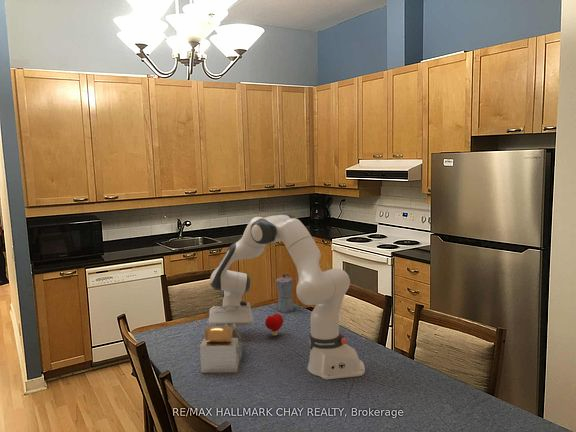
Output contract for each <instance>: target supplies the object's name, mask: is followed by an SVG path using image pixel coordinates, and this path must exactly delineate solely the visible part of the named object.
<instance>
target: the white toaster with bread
mask: <svg viewBox="0 0 576 432" xmlns="http://www.w3.org/2000/svg"><path fill="white" fill-rule="evenodd" d="M232 337H233V331H232V327H225V326H206V327H205V330H204V338H203V339H202V341H201V343H200V345H199V352H200V353H199V355H200V371H201V373H202V374H203V373H204V374H206V373H207V374H209V373H210V374H211V373H214V374H215V373H216V374H217V373H237V372H238V369H239V366H240V363H241V361H242V356H243V345H242V344H243V340H242V341H238V338H232Z"/></svg>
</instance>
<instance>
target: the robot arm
mask: <svg viewBox="0 0 576 432" xmlns="http://www.w3.org/2000/svg"><path fill="white" fill-rule="evenodd" d="M279 242H283V244H284V246H285V248H286V250H287V251H288V254H289V255H290V257H291V259H292V261H293V263H294V265H295V268H296V271H297V276H298V281H297V285H296V296H297V298H298V300H299V301H300V302H301V304H303V305H305V306H313V305H315V307H314V309H313V310H312V311H311V314H310V321H309V322H310V333H309V339H308V341H309V349H310V353H309V359H308V364H307V368H306V369H307V371H308V372H309V373H310V374H312V375H314V376H317V377H320V378H322V379H323V380H335V379H343V378H344V379H345V378H353V377H354V378H355V377H361V376H363V375H365V372H366V367H365V363H364V361H362V360H361V359H359V355H358V352H357V351H356V349H354V348H353V347H351V346H350V345H349V344H347V339H346V338H345V335H344V333H343V332H340V328H339V327H340V312H341V307H342V305H343V304H342V303H343V300H344V298H345V296H346V293H347V291H348V290H349V289H350V287H351V286H350V285H351V280H350V276H349V274H348V273H347V272H346V271H345V270H344V269H341V268H330V269H328V270H324V271H323V270H322V269H321V266H320V260H321V258H322V252H321V251H320V248H319V247H318V245H317V244H316V241H315V240H314V239H313V236H312V235H311V233H310V232H309V230H308V229H307V228H306V226H305V225H304V224H303V223H302V221H301V220H300V219H298V218H296V217H295V216H294V215H292V214H288V213H284V214H278V215H270V216H266V217H262V216H255V217H252V218H251V220H250V221H249V222H248V224H247V225H246V227H245V229H244V232H243V235H242V236H241V238H240V239H238V241H236V242H233V243H231V244H230V246H229V247H228V249H227V250H226V252H225V253H224V255H223V256H222V258H221V260H220V261H219V263H218V264H217V266H216V267H215V269H214V270H213V271H212V273H211V275H210V277H209V285H210V287H212V288H213V290H214V291H221V292H222V291H223V299H222V305H220V306H212V307H211V308H209V311H208V314H209V317H208V325H209V327H225V326H229V325H231V326H234V327H235V329H237V327H238V326H239V327H241V326H242V327H244V326H247V327H248V326H249V327H251V326H252V325H253V323H254V322H253V321H254V319H253V313H252V312H253V311H252V307H251V304H250V302H248V301H244V300H242V296H244V295H245V294H247V293H248V292H249V291H250V287H251V277H250V276H249V275H248V273H245V272H239V271H236V270H229V269H230V266H231V265H232V264H233V262H236V261H240V260H251V259H255V258H257V257H259V256H261V255H262V254H263V252H264V250H265V248H266V246H267V245H268V244H271V243H279Z"/></svg>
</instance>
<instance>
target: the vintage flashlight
mask: <svg viewBox="0 0 576 432" xmlns="http://www.w3.org/2000/svg"><path fill="white" fill-rule="evenodd" d="M224 327H232V331H233V337H232V338H238V341H242V342H243V340H244V339H243V338H244V337H243V334H242V332H241V331H240V330H239V329H237V328H236V329H235V327H234V326H231V325H229V326H224Z"/></svg>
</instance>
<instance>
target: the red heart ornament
mask: <svg viewBox="0 0 576 432" xmlns="http://www.w3.org/2000/svg"><path fill="white" fill-rule="evenodd" d="M283 323H284V318H283V315H281V314H279V313H274V314H273V315H268V316H267V317H266V319H265V327H266V328H267V329H268V330H270V331H271V335H272V336H273V337H276V336H277V335H278V331H279V330H280V329H281V328H282V326H283Z"/></svg>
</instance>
